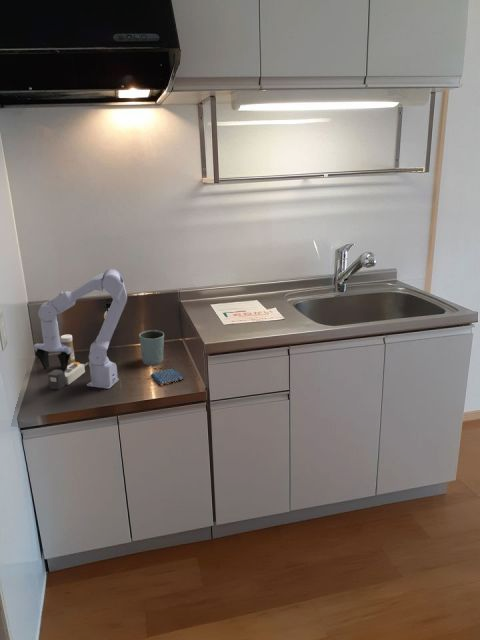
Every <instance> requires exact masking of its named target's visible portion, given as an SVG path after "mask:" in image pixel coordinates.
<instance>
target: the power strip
mask: <svg viewBox="0 0 480 640" xmlns="http://www.w3.org/2000/svg"><path fill="white" fill-rule="evenodd" d="M87 366H89V361H87V362H86V363H80V362H79V361H75V363H71V364H70V365H68V366H67V370H66V371H65V379H66V385H65V386H67V385H68V386H69V385H71V383H73V382H74V381H76V380H77V379H78V378H79V377H81V376H82V375H83V374H84V373H86V370H85V369H86V367H87Z"/></svg>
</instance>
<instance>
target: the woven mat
mask: <svg viewBox="0 0 480 640" xmlns="http://www.w3.org/2000/svg"><path fill="white" fill-rule="evenodd" d="M150 378H151V379H153V381H154V382H155V383H157V384H158V385H159V384H160V385H159V386H160V387H163V386H165V385H167V384H168V385H170V384H169V383H171V382H173V383H175V382H176V381H178V380H182V379H186V378H185V377H184V376H183V375H182V374H181V373H179V372H178V371H177V370H176V369H174V368H169V369H165V370H162V371H157V372H153V373H151V374H150ZM174 381H175V382H174ZM182 381H183V380H182ZM176 383H177V382H176ZM164 384H165V385H164ZM171 384H172V383H171Z"/></svg>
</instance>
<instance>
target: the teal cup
mask: <svg viewBox="0 0 480 640" xmlns="http://www.w3.org/2000/svg"><path fill="white" fill-rule="evenodd" d="M138 339H139V343H140V353H141V357H142V358H141V360H142V364H144V365H146V366H147V365H148V366H156V365H160V364H161V362H162V361H163V362H164V345H165V344H164V341H165V333H164V332H163V331H161V330H156V329H151V330H144V331H142V332H140V333H139V335H138Z"/></svg>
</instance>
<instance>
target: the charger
mask: <svg viewBox="0 0 480 640" xmlns="http://www.w3.org/2000/svg"><path fill="white" fill-rule="evenodd" d="M47 378H48V384H49V389H51V390H52V389H53V390H61V389H62V388H64V387H65V386H67V385H66V379H65V371H64V372H63V371H62V369H53V370H52V371H51V372H49V373H48V374H47Z"/></svg>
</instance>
